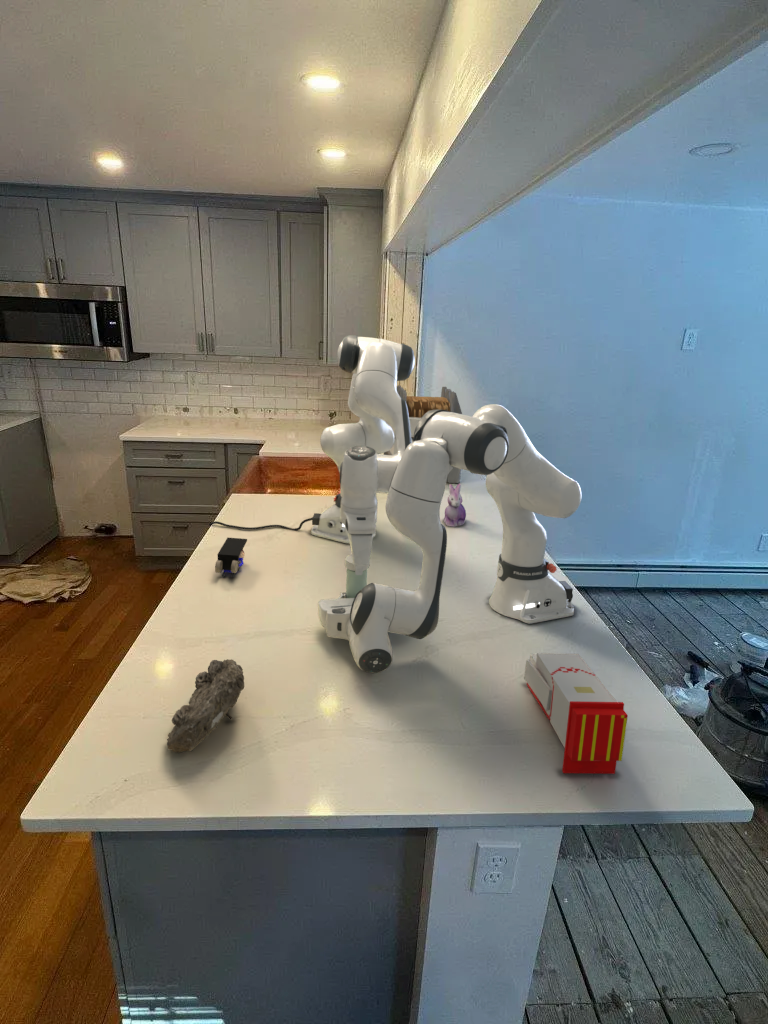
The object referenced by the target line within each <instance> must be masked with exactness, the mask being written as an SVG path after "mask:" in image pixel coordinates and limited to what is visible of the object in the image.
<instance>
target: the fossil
mask: <svg viewBox="0 0 768 1024" xmlns="http://www.w3.org/2000/svg"><path fill="white" fill-rule="evenodd" d="M243 670H244V669H243V667H242V665H240V664H237V662H236V661H235V660H234V659H232V658H231V659H227V658H226V659H224V660H223V661H222V660H217V659H212V660H211V661H210V663H209V665H208V666H207V671H201V672H199V673H198V674H197V675H196V676H195V680H194V684H195V685H194V687H195V689H194V690H193V693H192V694H191V697H190V698H189V700H188V704H184V705H182V706H181V707H180V709H177V710H176V711H175V713H174V715H173V716H172V718H171V723H172V724H173V727H172V730H171V731H170V732H168V734H167V738H166V741H167V742H166V745H167V749H168V750H169V751H173V752H174V753H176V754H178V753H182V752H188V751H189V752H192V751H193V750H195V748H196V747H197V746H199V744H200V743H201V742H203V741H204V740H205V739H206V738H207V737H208V736H209V735H210V734H211V733H212V732H214V730H215V729H217V727H218V726H219V724H220V722H221V721H222V720H223V719H224V718H225V716H226V717H227V719H229V720H233V717H232V715H230V714H229V710H230V709H231V708H234V706H235V704H236V703H237V702H238V699H239V697H240V695H241V693H242V691H243V690H245V689H244V688H245V675H244V671H243Z"/></svg>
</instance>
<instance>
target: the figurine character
mask: <svg viewBox="0 0 768 1024" xmlns="http://www.w3.org/2000/svg"><path fill="white" fill-rule="evenodd" d="M247 542H248V538H240V537H226V539H225V541H224V543H223V544H222V546H221V547H220V549H219V551H218V552H217V560H216V562H215V564H214V572H215V573H221V577H222V578H224V577H225V576H226V574H227V573H230V574H231V573H232V574H231V578H234V577H235V575H236V573H237V572H239V571H240V567H242V566H243V565H244V564H245V562H244V558H245V551H244V547H245V546H246V544H247Z"/></svg>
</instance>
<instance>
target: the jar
mask: <svg viewBox="0 0 768 1024" xmlns="http://www.w3.org/2000/svg"><path fill="white" fill-rule="evenodd" d="M345 578H346V583H345V593H346V595H347V598H355V596H356V594H357V593H358V592H359V591H360V590H361V589H362V588H363V587H365V586H366V585H368V569H367V570H364V571H363V574H362V575H356V574H355V571H352V570H349V569H347V568H346V577H345Z"/></svg>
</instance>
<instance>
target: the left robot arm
mask: <svg viewBox="0 0 768 1024" xmlns="http://www.w3.org/2000/svg"><path fill="white" fill-rule="evenodd" d="M336 356H337V362H338V366H339V368H340V369H341V370H342V371H344V372H346V373H348V374H352V376H351V381H350V387H349V392H348V398H347V406H348V409H349V412H351V413H352V414H353V415H354V416H356V417H358V418H359V420H358V422H349V423H337V424H334V425H331V426H327V427H325V428H324V429H323V430H322V432H321V435H320V439H319V440H320V441H319V442H320V448H321V450H322V452H323V453H324V454H325V455H326V456H327V457H328V458H330V459H331V460H332V461H333V462H334V464H335V465H336V467H337V470H338V473H339V485H340V488H339V489H340V490H339V491H338V492H337V494H336V495H335V496H334V497H333V502H334V504H333V505H331V506H329V507H328V508H326V509H325V510H323V512H321V513H317V512H314V513H313V515H312V517H309V518H306V519H304V520H302V521H301V522H300V524H299V525H298V527H295V528H291V527H288V526H286V525H282V524H268V525H261V526H254V527H249V526H248V527H245V526H238V525H234V524H233V525H232V524H227V523H224V522H221V521H211V522H210V523H209V524H208V526H209V527H210V526H211V527H212V526H213V525H221V526H223V527H226V528H233V529H239V530H245V531H246V530H249V531H254V530H255V531H257V530H262V529H268V528H269V529H270V528H280V529H281V528H282V529H285V530H289V531H293V532H294V531H296V532H297V531H300V530H301V528H302V526H303V525H304V524H305V523H307V522H311V526H312V528H311V530H310V533H311V536H315V537H319V538H323V539H326V540H330V541H336V542H339V543H343V544H349V546H350V552H351V554H352V557H353V563H354V565H355V574H356V575H362V574H363V566H367V565H368V564H369V562H370V563H371V556H372V549H373V540H374V538H375V537H376V535H377V522H378V503H379V502H378V498H377V494H387V495H388V492H389V489H390V486H391V482H392V479H393V476H394V473H395V471H396V468H397V466H398V463H399V461H400V459H401V457H402V455H403V453H404V451H405V449H406V448H407V446H408V445H409V444H410V443H412V440H411V429H410V420H409V414H408V407H407V404H406V401H405V400H404V399H402V398H400V396H399V394H398V392H397V386H398V385H397V383H398V382H403V381H406V380H407V379H409V378H410V376H411V374H412V372H413V371H414V368H415V363H416V360H415V359H416V358H415V352H414V349H413V348H412V347H411V346H409V345H407V344H405V343H399V342H395V341H394V340H393V341H392V340H388V339H385V338H381V337H380V338H376V337H369V336H358V335H356V334H351V335H346V336H345V337H343V338H342V341H341V342H340V344H339V346H338V348H337V354H336ZM386 422H387V423H389V424H390V425H392V426H393V427H394V429H395V433H396V445H397V453H396V454H395V455H384V452H387V451H389V450H391V448H392V447H393V444H394V440H395V436H394V432H393V430H392V428H391V427H390V426H389V425H388V424H387V423H386Z"/></svg>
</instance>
